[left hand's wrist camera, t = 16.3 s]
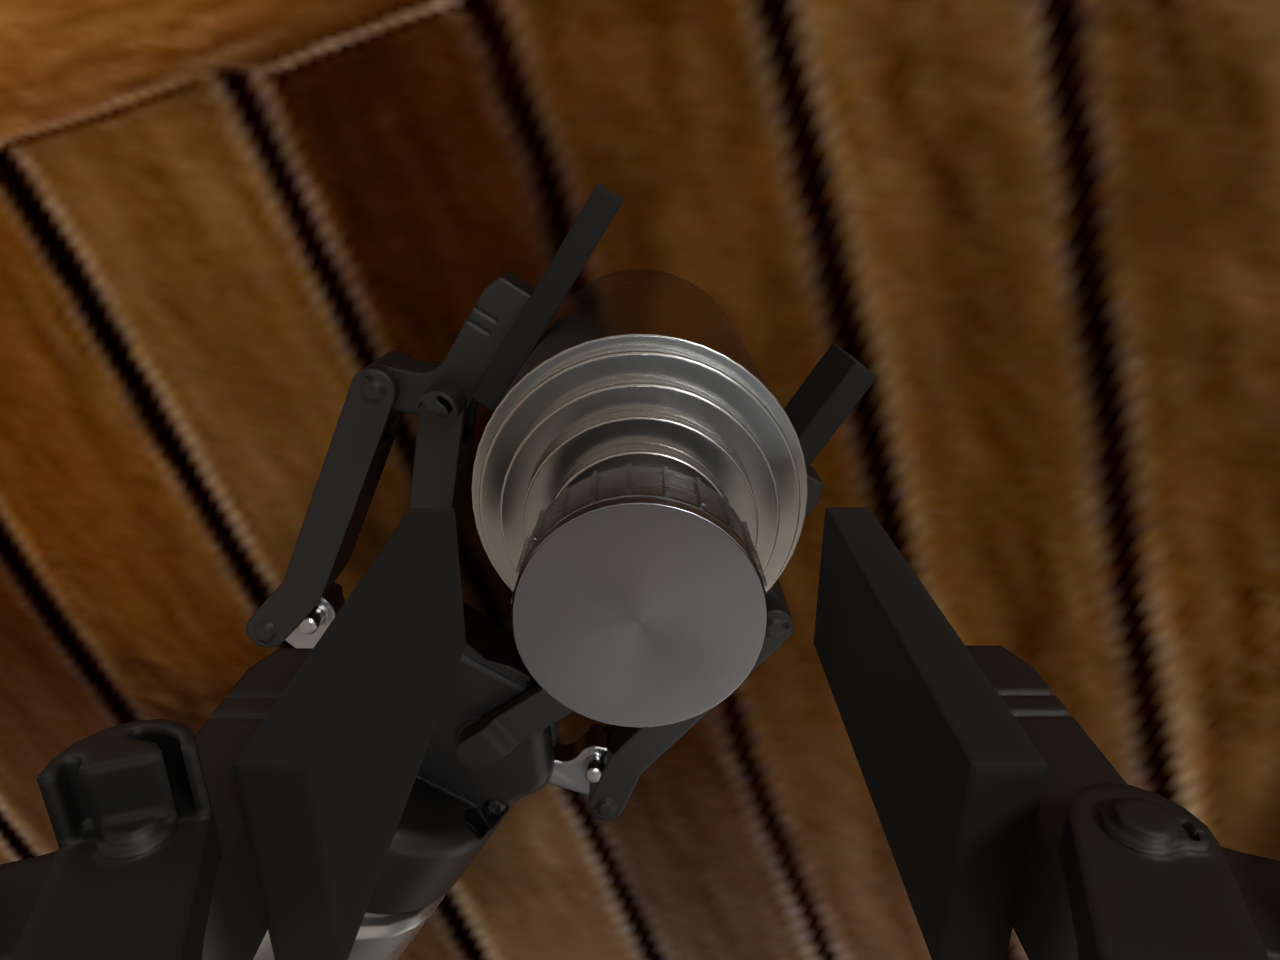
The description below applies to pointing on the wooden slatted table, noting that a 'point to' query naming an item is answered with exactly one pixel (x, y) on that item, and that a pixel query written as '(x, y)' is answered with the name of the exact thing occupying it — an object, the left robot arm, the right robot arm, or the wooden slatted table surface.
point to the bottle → (639, 416)
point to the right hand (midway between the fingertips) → (736, 279)
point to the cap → (639, 598)
